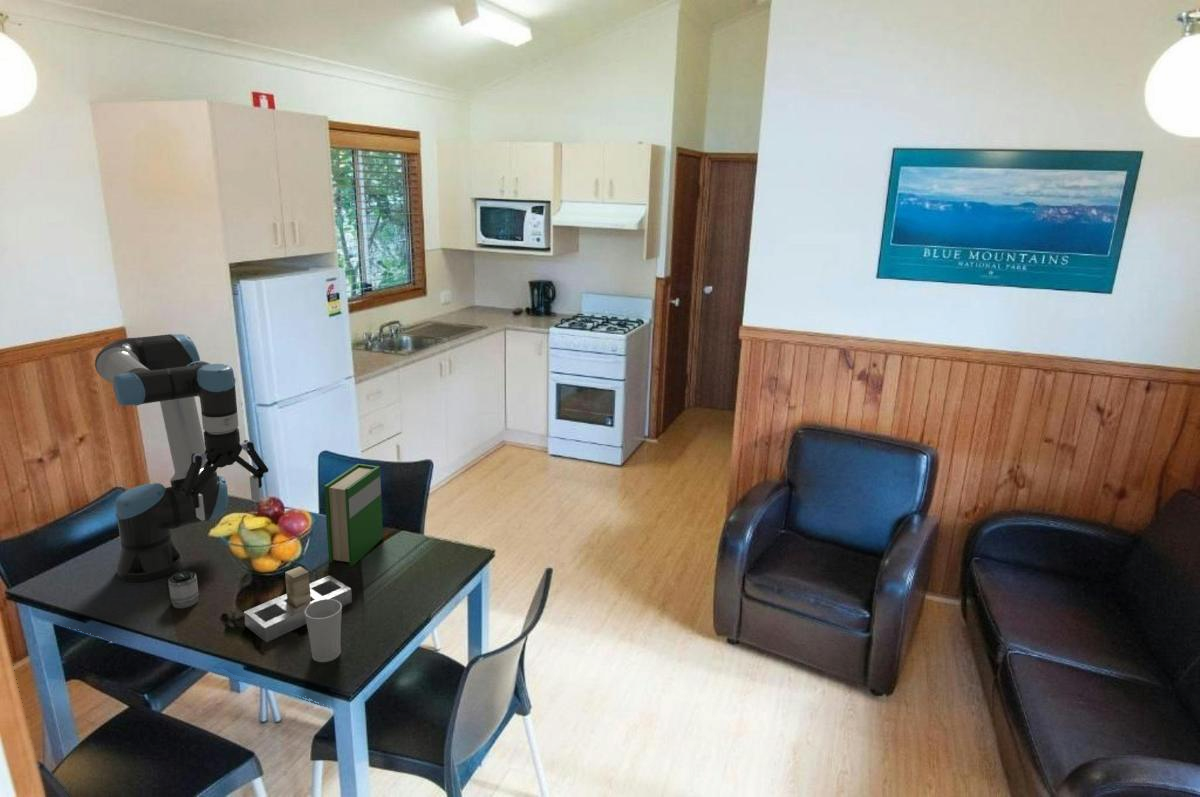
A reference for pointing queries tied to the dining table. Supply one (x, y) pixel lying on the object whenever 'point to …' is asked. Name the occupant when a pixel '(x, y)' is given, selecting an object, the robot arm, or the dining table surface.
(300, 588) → the peg
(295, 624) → the grey slotted block
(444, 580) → the dining table surface
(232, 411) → the robot arm
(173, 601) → the camera lens
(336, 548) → the hardback book
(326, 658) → the cup
